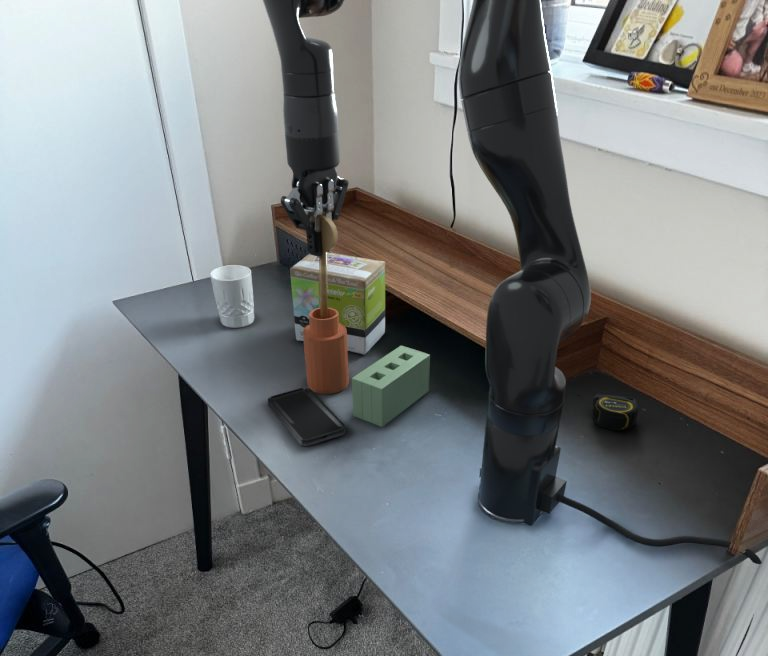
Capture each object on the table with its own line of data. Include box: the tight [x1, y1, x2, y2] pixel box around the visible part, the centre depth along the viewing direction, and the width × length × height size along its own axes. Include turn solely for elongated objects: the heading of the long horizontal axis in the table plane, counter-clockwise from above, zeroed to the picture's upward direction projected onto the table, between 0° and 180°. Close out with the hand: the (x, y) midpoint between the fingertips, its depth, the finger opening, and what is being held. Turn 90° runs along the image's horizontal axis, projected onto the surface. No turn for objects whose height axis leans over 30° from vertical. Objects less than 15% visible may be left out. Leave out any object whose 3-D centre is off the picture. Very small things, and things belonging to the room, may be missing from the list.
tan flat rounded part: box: [310, 215, 339, 319], centre depth 114 cm, size 5×1×20 cm, turn 54°
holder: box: [351, 345, 431, 428], centre depth 119 cm, size 6×14×7 cm, turn 144°
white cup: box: [209, 264, 255, 329], centre depth 143 cm, size 8×8×10 cm
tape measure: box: [592, 393, 639, 431], centre depth 115 cm, size 7×7×4 cm
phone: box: [267, 386, 346, 447], centre depth 117 cm, size 8×1×15 cm
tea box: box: [289, 251, 386, 356], centre depth 135 cm, size 15×10×15 cm
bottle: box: [303, 308, 350, 395], centre depth 122 cm, size 7×7×13 cm
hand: (319, 252), depth 112 cm, fingers closed on tan flat rounded part, 1 cm apart
